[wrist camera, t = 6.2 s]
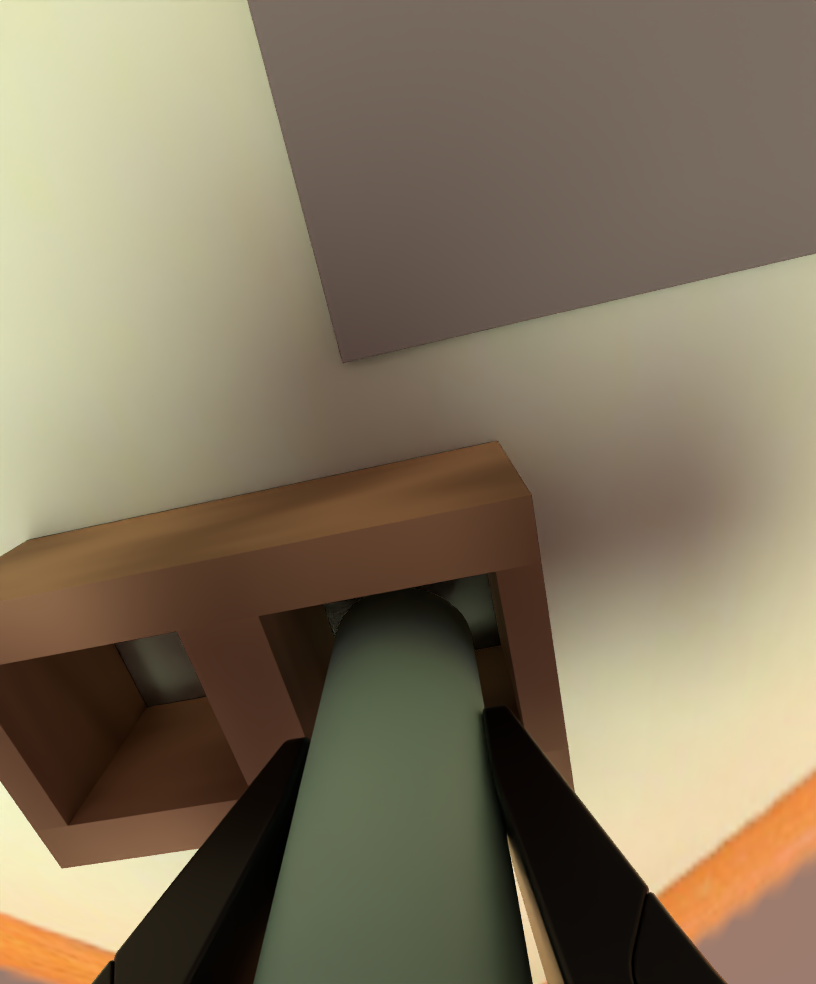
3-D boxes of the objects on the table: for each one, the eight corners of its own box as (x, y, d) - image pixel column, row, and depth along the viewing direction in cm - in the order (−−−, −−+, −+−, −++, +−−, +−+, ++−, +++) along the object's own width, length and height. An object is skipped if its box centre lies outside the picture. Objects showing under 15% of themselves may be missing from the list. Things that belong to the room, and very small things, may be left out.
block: (497, 441, 11) (531, 495, 8) (536, 678, 14) (574, 793, 11) (27, 540, 12) (-111, 623, 9) (139, 744, 15) (61, 868, 12)
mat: (853, -244, 8) (870, -264, 7) (821, 250, 10) (833, 249, 10) (237, -50, 8) (231, -62, 8) (344, 361, 11) (342, 363, 11)
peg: (459, 575, 10) (688, 1951, 2) (483, 689, 11) (701, 1893, 3) (318, 602, 10) (-99, 1900, 2) (354, 710, 11) (186, 1864, 3)
